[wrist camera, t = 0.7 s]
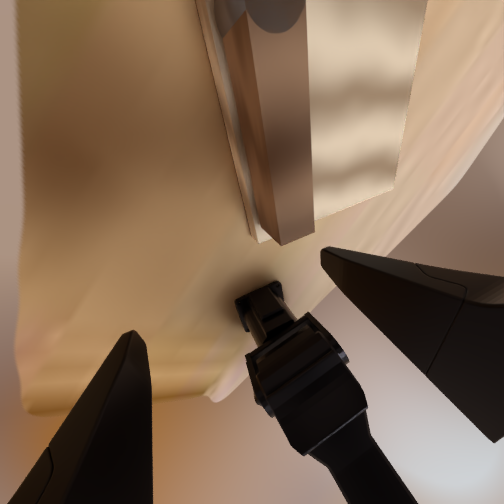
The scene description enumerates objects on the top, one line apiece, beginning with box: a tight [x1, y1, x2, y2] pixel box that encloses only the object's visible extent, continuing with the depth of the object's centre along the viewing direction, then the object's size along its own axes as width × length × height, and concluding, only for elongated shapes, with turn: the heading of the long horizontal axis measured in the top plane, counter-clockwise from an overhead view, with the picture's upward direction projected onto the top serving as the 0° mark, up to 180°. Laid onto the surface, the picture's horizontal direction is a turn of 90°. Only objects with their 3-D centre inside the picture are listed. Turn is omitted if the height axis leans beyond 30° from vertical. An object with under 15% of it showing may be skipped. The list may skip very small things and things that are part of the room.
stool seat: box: [195, 0, 428, 244], centre depth 17 cm, size 20×18×6 cm
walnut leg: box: [214, 0, 315, 246], centre depth 15 cm, size 16×4×4 cm, turn 13°
